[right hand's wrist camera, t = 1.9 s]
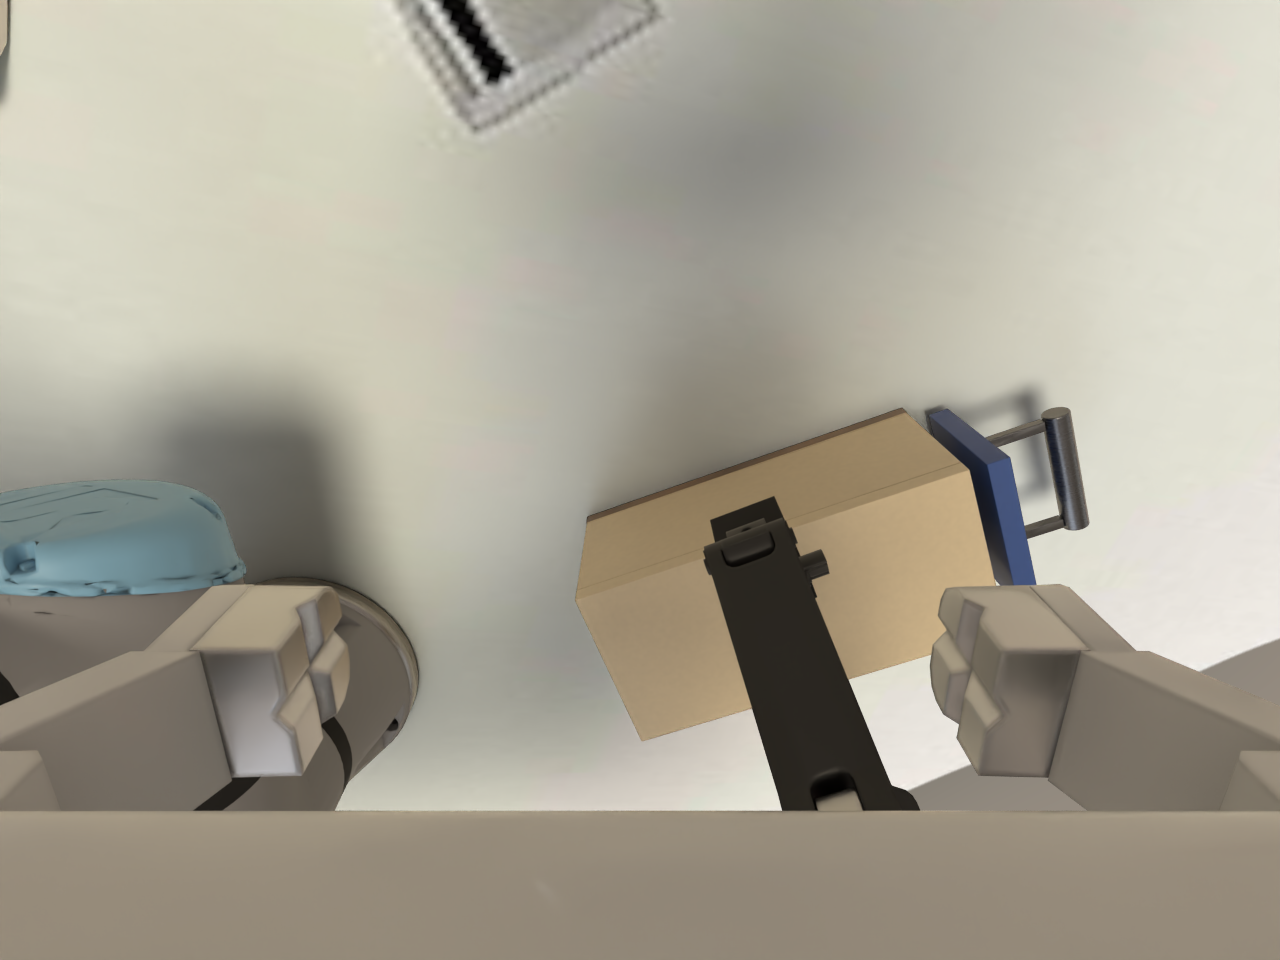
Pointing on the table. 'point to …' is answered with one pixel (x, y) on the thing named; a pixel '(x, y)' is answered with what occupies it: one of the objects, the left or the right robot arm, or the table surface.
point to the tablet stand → (3, 24)
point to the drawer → (1000, 489)
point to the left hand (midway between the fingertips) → (797, 648)
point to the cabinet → (821, 519)
